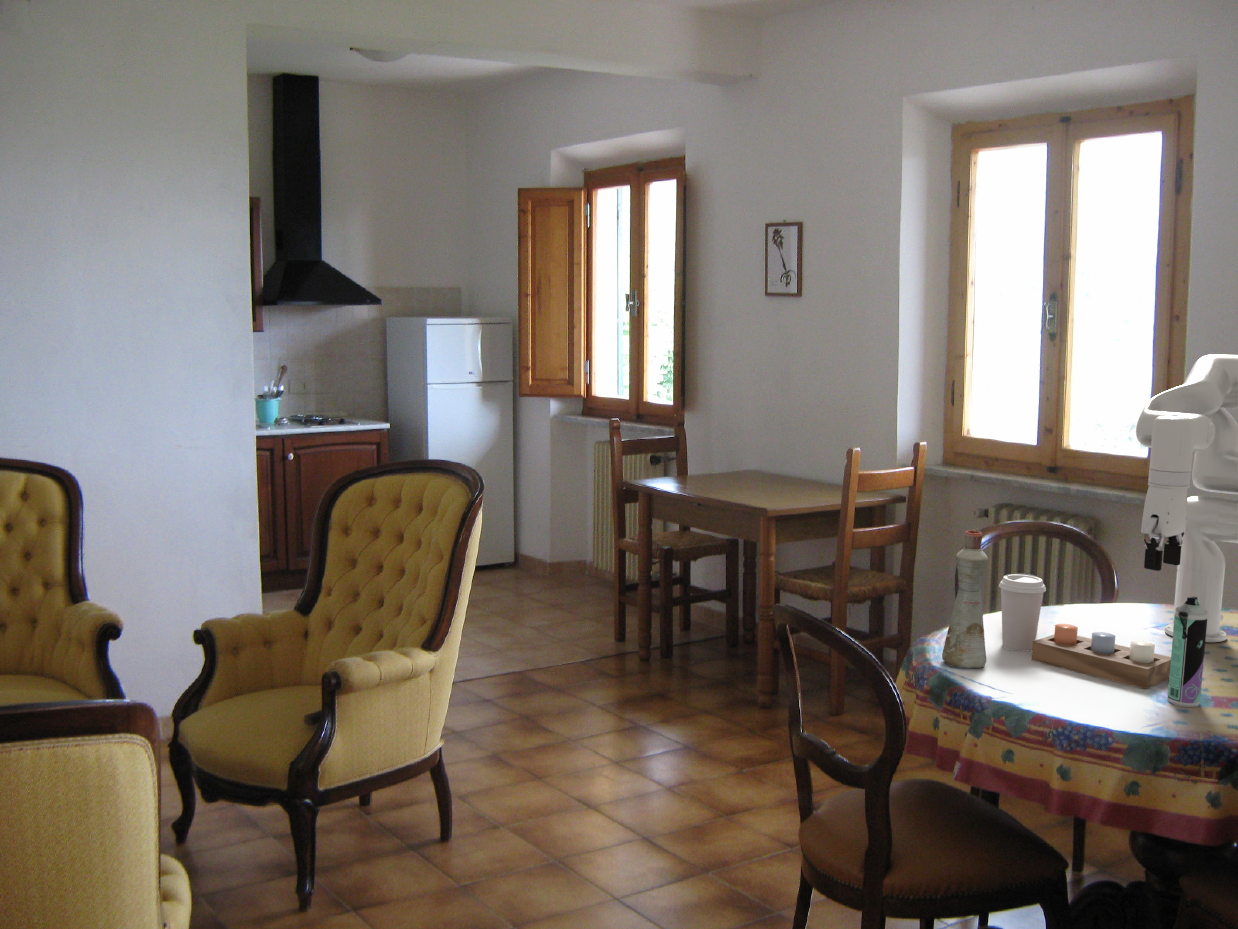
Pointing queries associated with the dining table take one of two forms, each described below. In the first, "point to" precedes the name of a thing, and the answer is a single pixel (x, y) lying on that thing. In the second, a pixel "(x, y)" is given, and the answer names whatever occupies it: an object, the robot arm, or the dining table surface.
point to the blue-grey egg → (1103, 642)
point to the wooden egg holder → (1102, 662)
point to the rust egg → (1065, 634)
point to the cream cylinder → (1142, 652)
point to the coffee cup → (1020, 610)
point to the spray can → (1187, 654)
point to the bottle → (968, 608)
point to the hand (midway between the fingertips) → (1162, 566)
